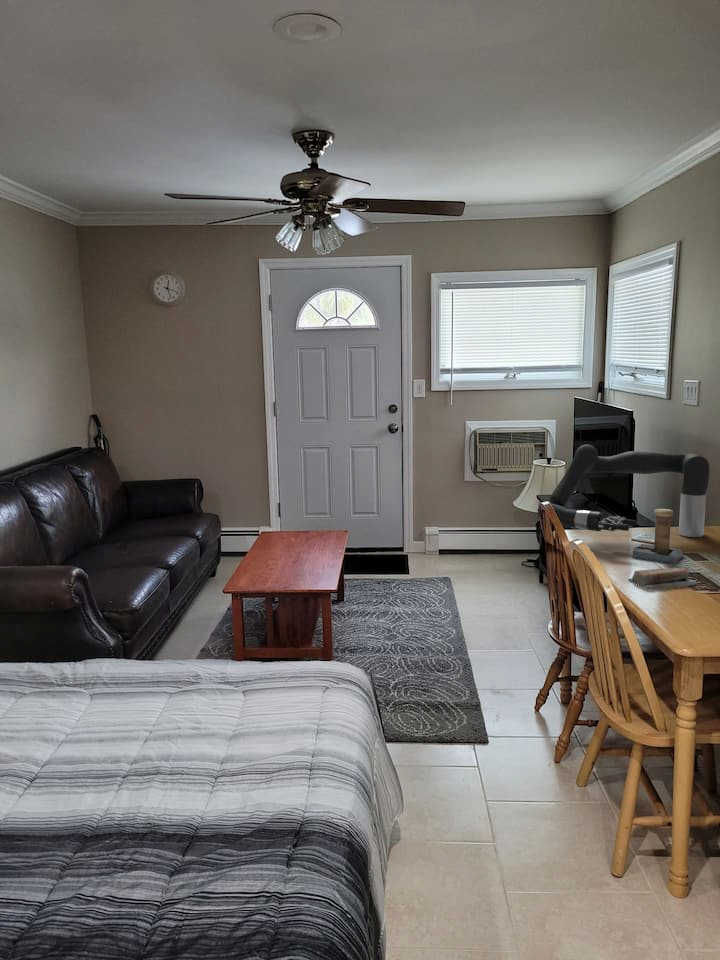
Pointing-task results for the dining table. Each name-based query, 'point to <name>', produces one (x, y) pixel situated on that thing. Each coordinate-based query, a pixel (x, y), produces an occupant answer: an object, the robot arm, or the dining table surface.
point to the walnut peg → (662, 530)
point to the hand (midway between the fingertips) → (632, 525)
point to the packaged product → (662, 578)
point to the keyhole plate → (656, 554)
